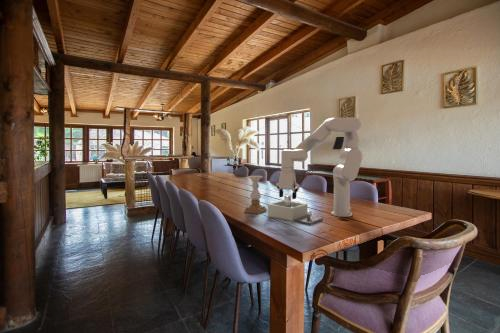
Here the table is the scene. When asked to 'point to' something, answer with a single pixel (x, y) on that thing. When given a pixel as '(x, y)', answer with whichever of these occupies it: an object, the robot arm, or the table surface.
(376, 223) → the table surface
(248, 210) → the candle holder
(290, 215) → the bin
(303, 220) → the stud base
